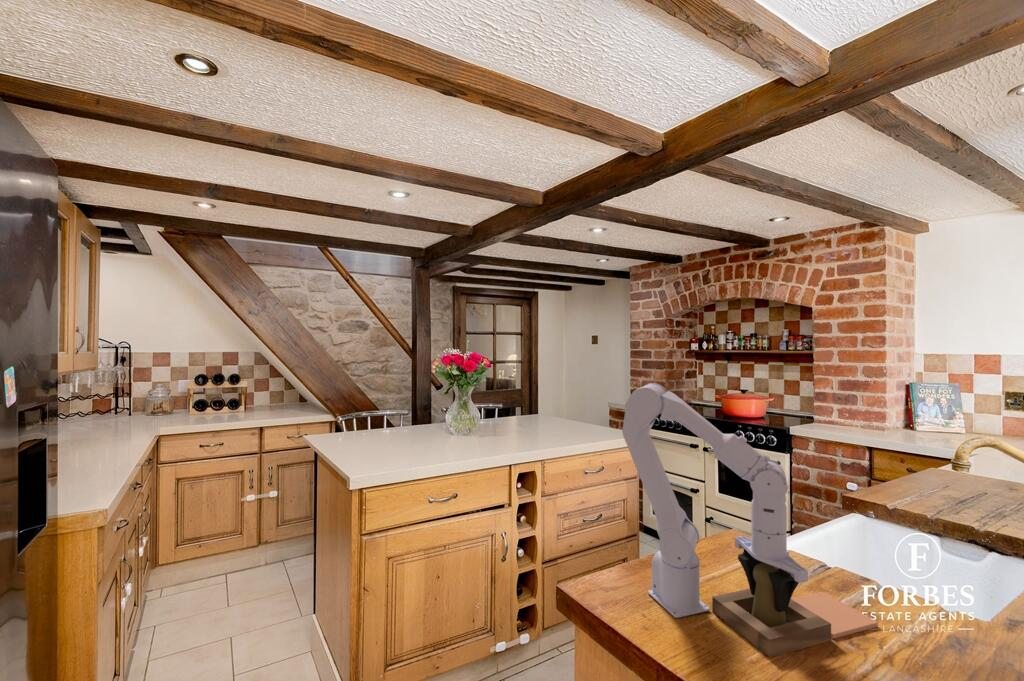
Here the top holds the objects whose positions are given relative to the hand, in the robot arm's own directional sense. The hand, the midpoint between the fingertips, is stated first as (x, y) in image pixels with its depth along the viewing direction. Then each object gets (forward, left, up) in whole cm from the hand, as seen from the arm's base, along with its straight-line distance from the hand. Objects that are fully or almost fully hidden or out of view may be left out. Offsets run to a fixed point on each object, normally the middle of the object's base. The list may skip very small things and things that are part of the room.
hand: (768, 601), depth 88 cm
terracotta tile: (+1, +13, -4) cm, 14 cm away
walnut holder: (0, 0, -4) cm, 4 cm away
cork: (0, 0, -5) cm, 5 cm away
